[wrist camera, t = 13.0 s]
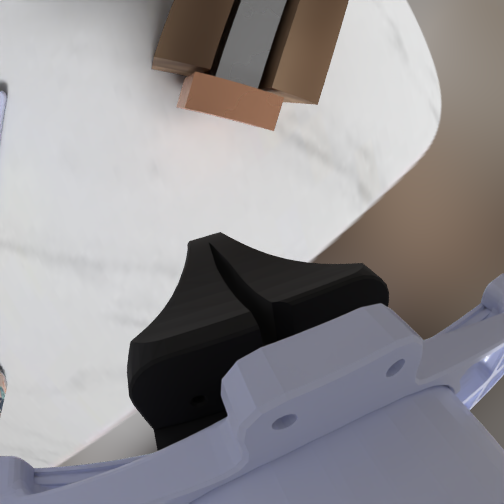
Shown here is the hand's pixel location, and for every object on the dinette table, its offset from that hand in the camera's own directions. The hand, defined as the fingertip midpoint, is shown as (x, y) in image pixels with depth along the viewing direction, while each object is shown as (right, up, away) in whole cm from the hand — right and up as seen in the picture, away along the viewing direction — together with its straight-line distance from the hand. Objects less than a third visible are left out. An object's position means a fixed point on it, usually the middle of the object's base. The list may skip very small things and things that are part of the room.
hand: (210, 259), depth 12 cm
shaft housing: (+1, +13, +2) cm, 13 cm away
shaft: (+1, +12, +1) cm, 12 cm away
